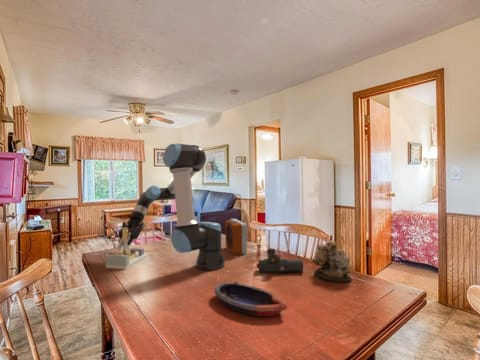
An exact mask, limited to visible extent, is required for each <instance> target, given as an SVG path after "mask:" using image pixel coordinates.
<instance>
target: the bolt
mask: <svg viewBox="0 0 480 360" xmlns="http://www.w3.org/2000/svg"><path fill="white" fill-rule="evenodd" d="M121 228H122V227H121ZM122 232H123V246H122V255H129V260H130V259H132V258H134V257H135V253H130V246H129V247H128V249H127V251H125V250H124V249H123V247H124V245H125V243H126V241H127V239H128V238H130V234H129V233H130V231H129V227H124V228H122Z"/></svg>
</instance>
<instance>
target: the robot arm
mask: <svg viewBox="0 0 480 360" xmlns="http://www.w3.org/2000/svg"><path fill="white" fill-rule="evenodd" d="M206 161H207V155H206V152H205V151H204V149H203V148H202V147H200V146H199V145H196V144H185V143H170V144H169V145H167V146H166V148H165V150H164V152H163V164H164V165H165V167H167V168H168V169H169V173H171V174H172V177H173V178H172V179H173V180H171V182H170V183H169V185H168V186H167V187H158V186H156V185H151V186H149V187H148V188H147V189H146V190H145V191H144V192H141V194H140V196H139V198H138V201H137V202H136V204H135V206H134V208H133V209H132V212H131V214H130V215H129V220H127V222H125V221H123V222H122V226H121V228H120V231H119V233H118V235H117V236H118V238H119V240H118V243H117V244H118V245H117V246H116V249H117V250H118V251H120V252H121V250H123V249H124V250H125V251H127V249H128V247H129V248H130V246H131V244H132V243H133V241H134V240H137V239H138V237H139V236H140V234H141V232H142V230H143V229H144V228H145V226H146V224H145V223H144V222H143V221H144V219H145V217H146V214H147V212H148V211H149V208H150V206H151V205H152V204H153V203H154V202H157V201H167V200H168V201H170V200H175V209H176V217H177V222H176V224H174V229H173V230H172V232H171V234H170V240H171V243H172V244H171V245H172V246H173V248H174V250H176V252H178V253H181V254H184V253H185V254H186V253H190V252H192V251H197V250H198V251H199V252H198V255H197V258H196V261H195V268H196V269H198V270H202V271H214V270H215V271H216V270H219V269H222V268H224V267H225V265H226V264H225V263H226V260H225V258H224V255H223V252H222V227H221V224H220V223H218V222H212V221H199V222H198V221H197V220H196V217H195V207H194V206H195V205H194V198H193V197H194V196H193V189H192V178H193V177H194V175H195V174H196V173H199V172H200V171H201V170H202V169H203V168H204V166H205V165H206ZM124 227H129V232H130V234H129V238H128V239H127V241H126V243H125V245H124V247H123V232H122V228H124Z"/></svg>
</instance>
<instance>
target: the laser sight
mask: <svg viewBox="0 0 480 360" xmlns="http://www.w3.org/2000/svg"><path fill="white" fill-rule="evenodd" d="M275 250H276V249H274V248H273V249H272V248H271V249H267V250H266V251H267V258H263V259H258V263H256V269H258V272H259V273H265V274H267V273H271V274H273V273H274V274H275V273H280V274H281V273H283V274H285V273H288V272H296V273H297V272H304V262H303V259H287V258H281V256H280V255H278V254H276V251H275Z"/></svg>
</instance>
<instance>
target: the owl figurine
mask: <svg viewBox="0 0 480 360" xmlns="http://www.w3.org/2000/svg"><path fill="white" fill-rule="evenodd" d="M311 261H312V262H314V264H315V265H316V266H320V267H318V268H317V269H316V270H314V273H313V274H314V276H315V278H318V279H319V280H322V281H324V282H330V283H333V284H334V283H336V284H348V283H351V282H352V277H351V276H350V275H349V274H350V273H351V269H348V268H349V266H350V263H351V262H350V257H349V256H348V255H347V253H346V252H345V250H344V249H341V248H340V247H339V246H338V244H337V242H335V241H334V240H329V241H327V243H326V244H325V243H320V244H318V245H317V251H316V254H315V258H312V260H311Z"/></svg>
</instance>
